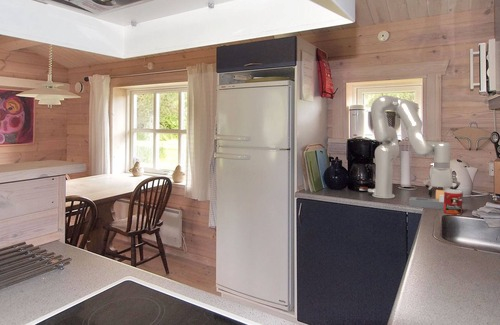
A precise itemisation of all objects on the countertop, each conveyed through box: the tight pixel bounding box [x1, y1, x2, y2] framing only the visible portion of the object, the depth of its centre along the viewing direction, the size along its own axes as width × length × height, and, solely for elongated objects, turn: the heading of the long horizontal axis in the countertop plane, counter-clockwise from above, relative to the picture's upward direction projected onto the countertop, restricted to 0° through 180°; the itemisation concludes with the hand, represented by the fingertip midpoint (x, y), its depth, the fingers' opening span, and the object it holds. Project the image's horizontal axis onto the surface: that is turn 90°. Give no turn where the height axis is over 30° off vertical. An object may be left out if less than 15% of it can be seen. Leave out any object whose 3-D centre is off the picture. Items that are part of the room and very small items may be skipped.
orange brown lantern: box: [435, 187, 446, 199], centre depth 183 cm, size 4×4×10 cm
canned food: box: [443, 188, 464, 216], centre depth 165 cm, size 8×8×11 cm
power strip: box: [408, 194, 444, 211], centre depth 178 cm, size 20×8×6 cm, turn 59°
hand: (441, 197), depth 183 cm, fingers open, 9 cm apart
